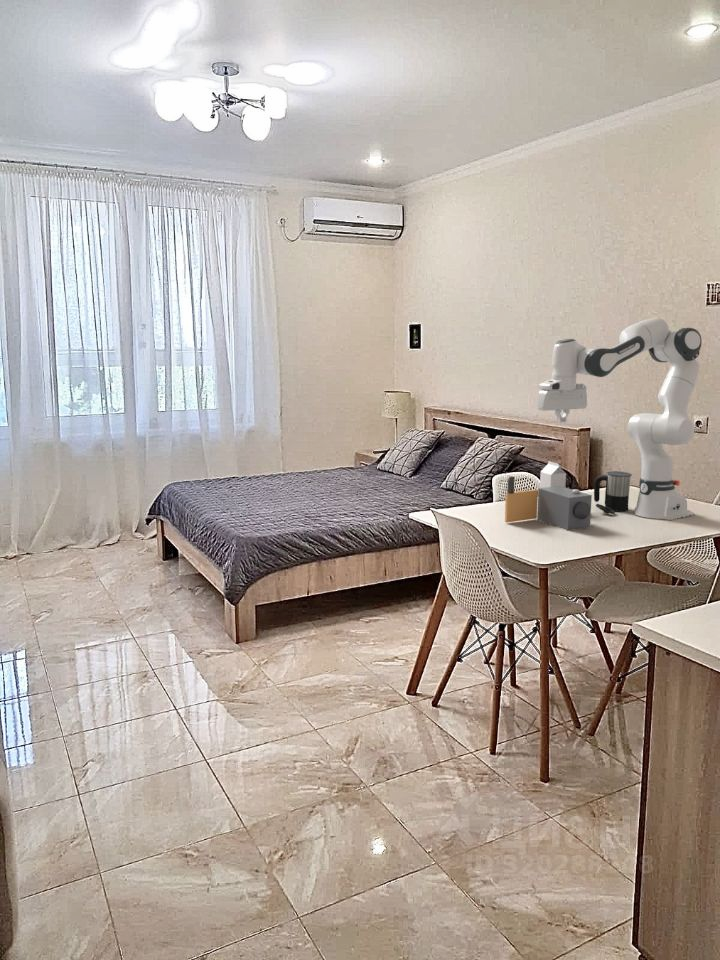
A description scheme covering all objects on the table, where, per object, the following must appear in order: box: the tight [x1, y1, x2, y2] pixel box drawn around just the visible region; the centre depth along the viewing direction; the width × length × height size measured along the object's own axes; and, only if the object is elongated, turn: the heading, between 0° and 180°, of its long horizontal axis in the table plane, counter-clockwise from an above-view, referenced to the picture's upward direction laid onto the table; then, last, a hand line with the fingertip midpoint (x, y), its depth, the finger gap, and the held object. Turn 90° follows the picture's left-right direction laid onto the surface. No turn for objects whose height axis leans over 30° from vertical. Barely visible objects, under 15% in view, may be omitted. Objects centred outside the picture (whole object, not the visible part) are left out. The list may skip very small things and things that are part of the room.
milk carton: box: [539, 460, 567, 488], centre depth 303 cm, size 7×7×19 cm
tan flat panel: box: [504, 475, 538, 523], centre depth 284 cm, size 2×14×17 cm, turn 116°
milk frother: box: [593, 470, 632, 515], centre depth 300 cm, size 14×16×15 cm
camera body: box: [536, 486, 593, 531], centre depth 281 cm, size 10×20×13 cm, turn 23°
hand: (561, 421), depth 282 cm, fingers closed
